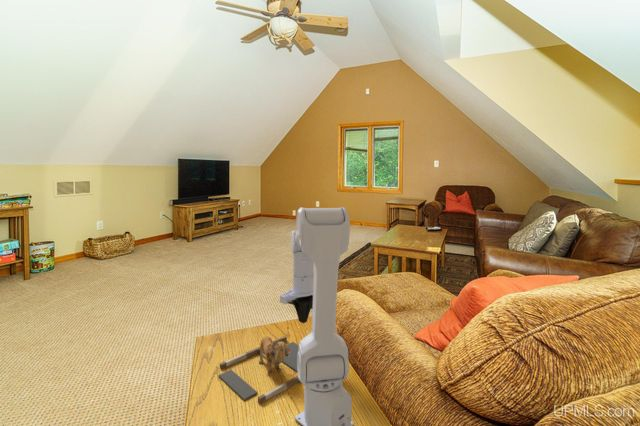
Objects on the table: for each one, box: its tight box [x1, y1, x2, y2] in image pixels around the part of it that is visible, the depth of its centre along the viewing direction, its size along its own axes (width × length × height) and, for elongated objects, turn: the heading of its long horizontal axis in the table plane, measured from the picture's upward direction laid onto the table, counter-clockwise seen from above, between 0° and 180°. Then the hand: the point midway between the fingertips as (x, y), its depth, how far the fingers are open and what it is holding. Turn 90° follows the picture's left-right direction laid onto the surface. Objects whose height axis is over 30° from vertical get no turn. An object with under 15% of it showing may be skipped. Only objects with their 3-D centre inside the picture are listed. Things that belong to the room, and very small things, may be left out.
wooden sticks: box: [219, 335, 301, 404], centre depth 87 cm, size 18×22×1 cm
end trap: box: [217, 369, 258, 401], centre depth 80 cm, size 12×4×1 cm, turn 44°
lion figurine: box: [257, 335, 291, 377], centre depth 87 cm, size 15×5×9 cm, turn 37°
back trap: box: [282, 341, 299, 373], centre depth 92 cm, size 12×8×1 cm
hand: (302, 321), depth 93 cm, fingers closed
